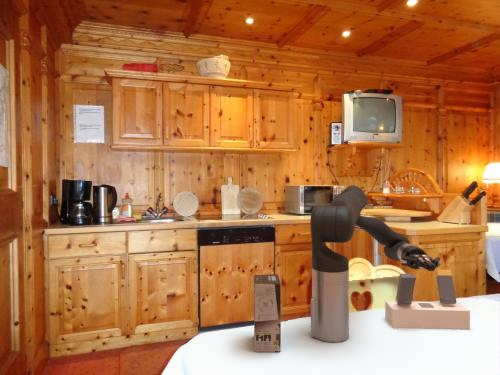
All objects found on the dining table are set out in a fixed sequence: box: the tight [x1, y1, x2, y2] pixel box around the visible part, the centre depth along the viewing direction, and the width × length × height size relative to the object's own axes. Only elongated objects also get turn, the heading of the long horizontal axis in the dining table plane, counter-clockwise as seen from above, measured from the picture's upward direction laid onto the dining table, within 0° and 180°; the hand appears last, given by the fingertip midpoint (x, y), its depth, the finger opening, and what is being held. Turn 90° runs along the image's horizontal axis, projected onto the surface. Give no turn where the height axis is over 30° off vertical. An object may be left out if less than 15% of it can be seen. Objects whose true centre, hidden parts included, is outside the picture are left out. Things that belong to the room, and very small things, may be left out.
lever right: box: [434, 269, 458, 304], centre depth 104 cm, size 4×2×9 cm, turn 86°
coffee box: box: [253, 273, 282, 353], centre depth 91 cm, size 9×6×16 cm
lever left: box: [395, 273, 417, 305], centre depth 101 cm, size 4×2×9 cm, turn 86°
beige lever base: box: [384, 300, 471, 330], centre depth 103 cm, size 20×7×5 cm, turn 85°
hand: (431, 267), depth 113 cm, fingers closed
